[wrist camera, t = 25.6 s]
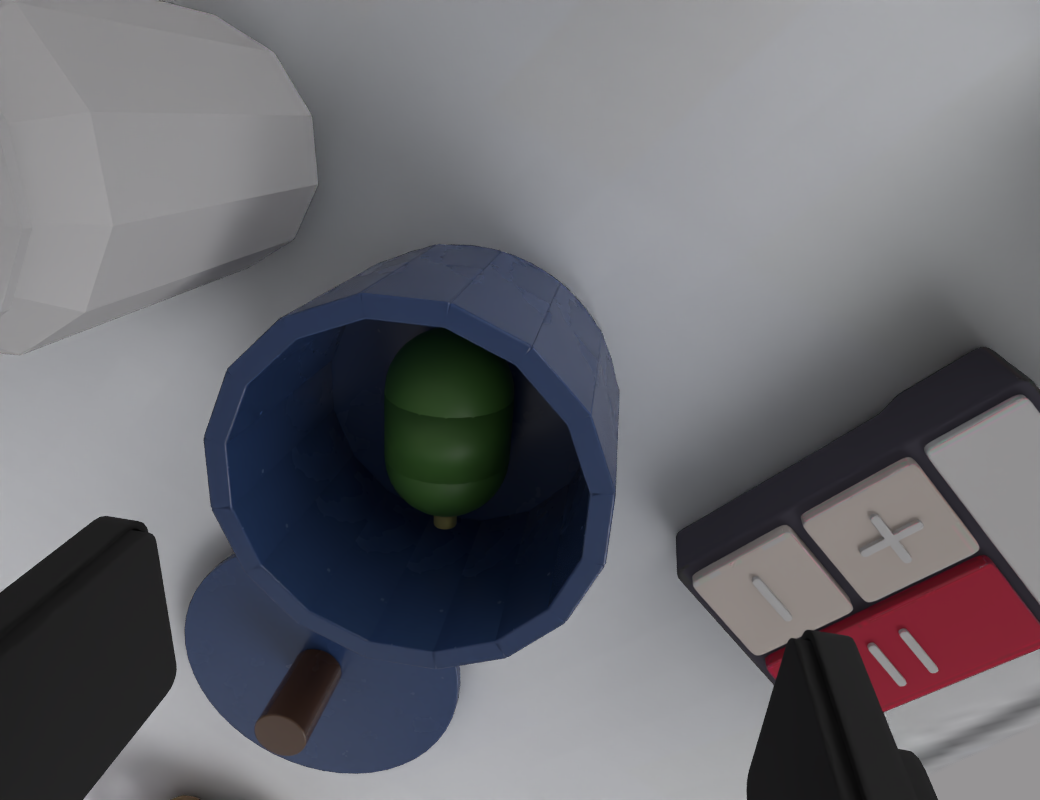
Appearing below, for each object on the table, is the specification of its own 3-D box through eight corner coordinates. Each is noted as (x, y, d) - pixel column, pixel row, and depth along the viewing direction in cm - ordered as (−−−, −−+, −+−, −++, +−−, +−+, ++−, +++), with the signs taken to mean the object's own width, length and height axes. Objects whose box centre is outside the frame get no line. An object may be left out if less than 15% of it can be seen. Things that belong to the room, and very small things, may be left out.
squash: (408, 306, 30) (364, 341, 25) (528, 319, 29) (506, 358, 25) (405, 487, 33) (366, 547, 28) (513, 502, 33) (491, 567, 28)
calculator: (672, 584, 29) (1039, 381, 23) (671, 527, 33) (986, 340, 27) (823, 752, 31) (1195, 604, 26) (805, 679, 35) (1124, 536, 29)
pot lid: (182, 513, 36) (107, 579, 31) (469, 555, 35) (440, 633, 29) (210, 731, 42) (150, 818, 37) (457, 776, 40) (432, 874, 35)
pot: (315, 229, 30) (184, 273, 21) (636, 261, 28) (640, 323, 20) (325, 506, 35) (223, 634, 26) (598, 545, 33) (587, 695, 25)
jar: (279, -20, 26) (-308, -256, 10) (362, 236, 30) (24, 383, 13) (68, 55, 29) (-704, -36, 12) (166, 286, 32) (-338, 466, 15)
